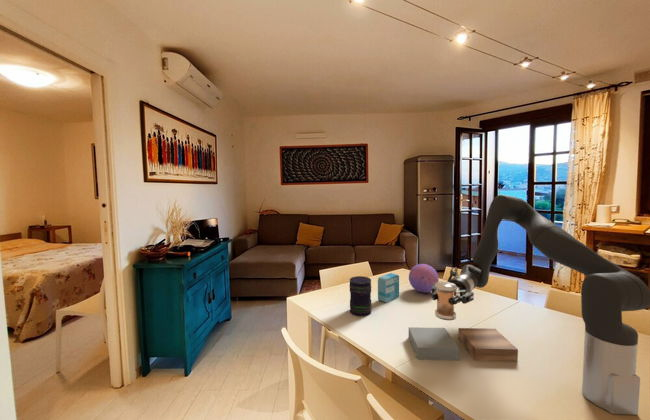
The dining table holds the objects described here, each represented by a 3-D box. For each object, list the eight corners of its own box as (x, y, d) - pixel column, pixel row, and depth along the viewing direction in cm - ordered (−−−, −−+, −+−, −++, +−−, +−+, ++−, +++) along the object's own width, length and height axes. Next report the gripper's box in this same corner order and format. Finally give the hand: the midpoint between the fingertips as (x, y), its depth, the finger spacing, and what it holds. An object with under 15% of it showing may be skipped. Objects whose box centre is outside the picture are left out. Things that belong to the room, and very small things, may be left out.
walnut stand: (517, 361, 87) (518, 349, 86) (475, 360, 87) (475, 348, 87) (495, 339, 99) (495, 328, 99) (458, 338, 100) (458, 328, 100)
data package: (385, 303, 132) (385, 279, 132) (377, 300, 136) (377, 277, 135) (399, 297, 140) (399, 274, 139) (391, 294, 144) (391, 272, 143)
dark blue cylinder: (346, 309, 127) (345, 277, 126) (364, 305, 131) (364, 275, 130) (356, 318, 118) (355, 284, 117) (375, 314, 121) (375, 281, 120)
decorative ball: (411, 296, 140) (411, 268, 139) (406, 286, 155) (406, 260, 154) (441, 297, 138) (442, 268, 137) (434, 287, 153) (434, 260, 152)
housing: (459, 320, 91) (459, 288, 90) (438, 320, 91) (438, 288, 90) (451, 311, 97) (452, 281, 96) (432, 311, 98) (432, 281, 97)
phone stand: (443, 290, 148) (443, 268, 147) (445, 286, 153) (445, 265, 152) (462, 293, 143) (462, 270, 143) (463, 289, 148) (463, 268, 148)
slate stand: (459, 360, 88) (459, 348, 88) (417, 359, 89) (417, 347, 88) (444, 338, 101) (444, 327, 100) (408, 337, 102) (408, 327, 101)
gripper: (441, 272, 109) (422, 284, 97) (481, 280, 98) (465, 294, 86) (441, 291, 109) (421, 304, 97) (481, 301, 99) (465, 317, 87)
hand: (442, 299), depth 92 cm, fingers closed on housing, 5 cm apart
